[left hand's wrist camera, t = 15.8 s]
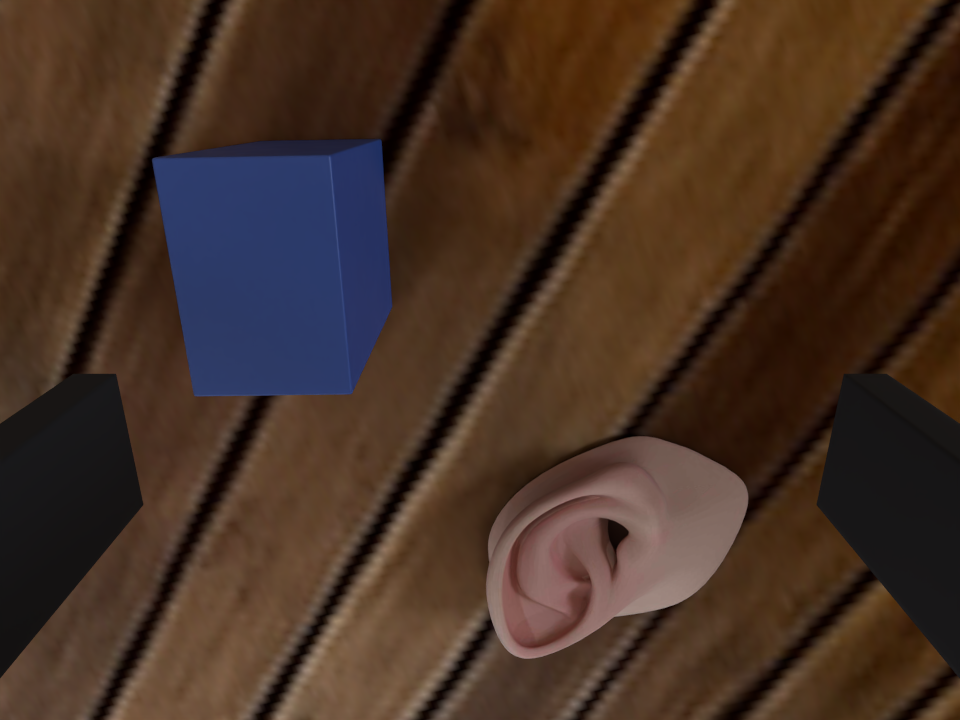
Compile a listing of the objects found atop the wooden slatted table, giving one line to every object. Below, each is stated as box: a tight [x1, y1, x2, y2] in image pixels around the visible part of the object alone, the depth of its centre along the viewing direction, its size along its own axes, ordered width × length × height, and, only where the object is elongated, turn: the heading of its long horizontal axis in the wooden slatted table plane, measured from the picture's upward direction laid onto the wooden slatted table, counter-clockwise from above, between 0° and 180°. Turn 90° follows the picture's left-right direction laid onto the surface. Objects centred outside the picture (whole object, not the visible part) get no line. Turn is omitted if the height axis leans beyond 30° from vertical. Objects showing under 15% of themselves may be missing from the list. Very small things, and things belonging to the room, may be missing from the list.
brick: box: [152, 139, 392, 396], centre depth 26 cm, size 5×8×10 cm
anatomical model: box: [486, 436, 748, 658], centre depth 34 cm, size 13×4×12 cm
